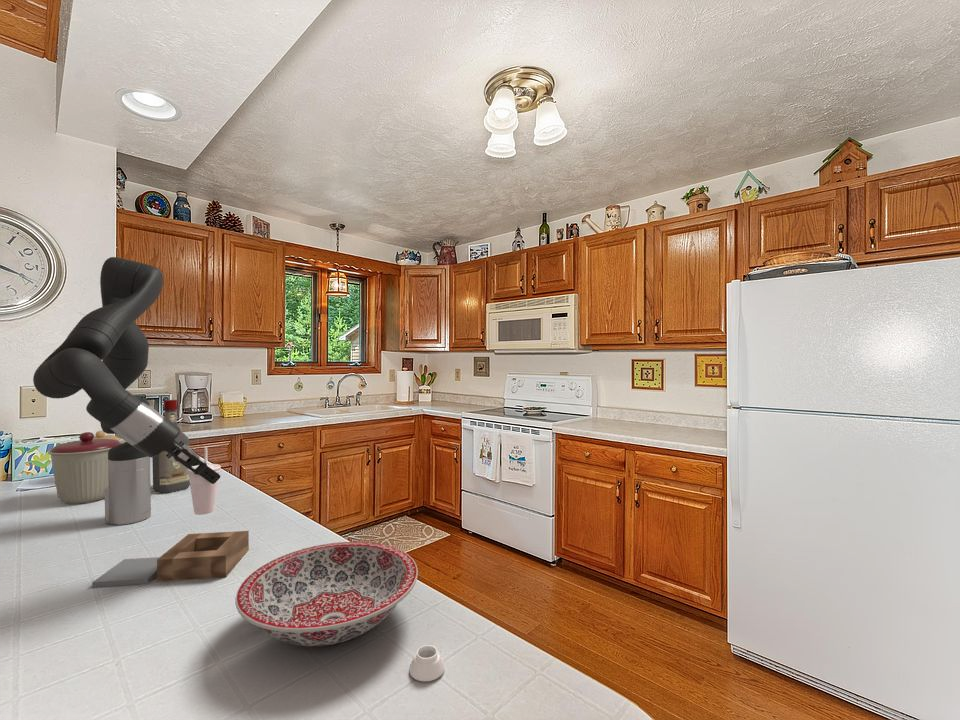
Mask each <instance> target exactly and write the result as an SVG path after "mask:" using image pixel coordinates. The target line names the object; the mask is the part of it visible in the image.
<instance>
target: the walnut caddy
mask: <svg viewBox="0 0 960 720" xmlns="http://www.w3.org/2000/svg"><path fill="white" fill-rule="evenodd" d="M249 536H250V535H249V530H237V531H217V532H202V533H201V532H200V533H188V534H187V535H185V536H184V537H183V538H182V539H181V540H179V541H178V542H176V543H175V544H174V545H173V546H172V547H171V548H169V549H168V550H167V551H165V553H163V554H162V555H161V556H159V557H160V558H158V559H157V576H156V579H157V582H173V581H174V582H175V581H187V580H188V581H190V580H203V579H217V578H226V577H228V576H229V574H230V573H231V572H232V571H233V570H234V568H235V567H236V566H237V564H238V563H239V562H240V561H241V560H242V559H243V558H244V556H246V554H247V553H248V551H250V549H249V548H250V547H249V544H250V543H249ZM246 552H247V553H246Z"/></svg>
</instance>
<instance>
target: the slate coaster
mask: <svg viewBox="0 0 960 720" xmlns="http://www.w3.org/2000/svg"><path fill="white" fill-rule="evenodd" d="M160 557H161V556H158V557H157V556H156V557H140V558H139V557H138V558H125V559H122V560H121V561H119V562H118V563H117V564H116V565H115V566H113V567H111V568H110V569H109V570H107V571H106V572H104V573H103V574H102V575H100V576H99V577H98V578H96V579H95V580H93V581H92V582H91V583H92V584H91V585H92V588H99V587H101V588H102V587H117V586H127V585H128V586H129V585H147V584H149V583H150V582H151V581H152V580H153V579H154V578H157V559H158V558H160Z"/></svg>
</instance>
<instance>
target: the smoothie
mask: <svg viewBox="0 0 960 720" xmlns="http://www.w3.org/2000/svg"><path fill="white" fill-rule="evenodd" d="M203 448H204V449H203V450H204V452H203V453H204V457H203V458H204V461H203V462H205V463H206V465H208V467H210V468H211V469H212V470H214V471H215V472H216V473H218V474H219V475H220V472H221V471H222V467H221V465H220V464H218V463H208V446H204V447H203ZM198 466H199V465H197V466H193V467H192V468H194V469H196V468H197V467H198ZM187 475H189V481H190V486H189V487H190V493H191V498H192V499H191V500H192V506H193V513H194V514H195V515H196V516H197V515H198V516H200V515H201V516H202V515H207V514H212V513H214V511H215V505H216V500H217V499H216V498H217V492H218V484H219V479H218V480H217V482H216V483H214V484H212V483H210V482H209V481H207V480H206V479H204V478H203V477H202V476H200V475H196V474H194V472H193V471H191V470H190V469H188V470H187Z"/></svg>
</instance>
